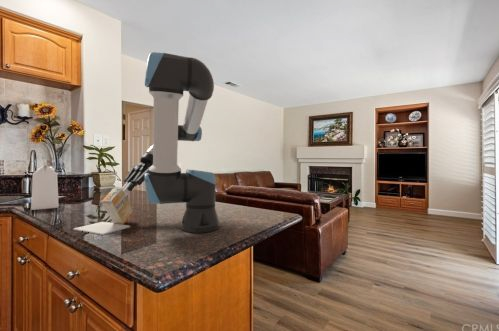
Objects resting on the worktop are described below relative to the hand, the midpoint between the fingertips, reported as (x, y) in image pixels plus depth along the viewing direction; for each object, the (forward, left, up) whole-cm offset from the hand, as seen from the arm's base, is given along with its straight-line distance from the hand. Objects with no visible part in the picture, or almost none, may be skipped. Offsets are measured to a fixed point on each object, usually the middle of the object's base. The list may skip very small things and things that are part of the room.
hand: (121, 195), depth 107 cm
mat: (-1, +10, -12) cm, 15 cm away
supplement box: (-1, -1, -10) cm, 10 cm away
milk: (+67, -7, -12) cm, 68 cm away
